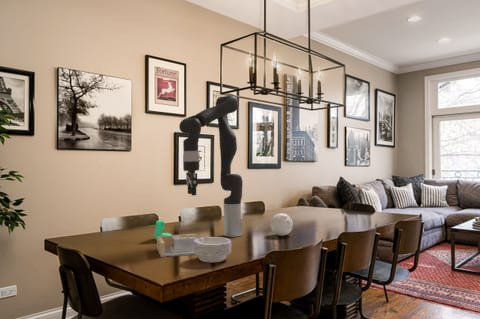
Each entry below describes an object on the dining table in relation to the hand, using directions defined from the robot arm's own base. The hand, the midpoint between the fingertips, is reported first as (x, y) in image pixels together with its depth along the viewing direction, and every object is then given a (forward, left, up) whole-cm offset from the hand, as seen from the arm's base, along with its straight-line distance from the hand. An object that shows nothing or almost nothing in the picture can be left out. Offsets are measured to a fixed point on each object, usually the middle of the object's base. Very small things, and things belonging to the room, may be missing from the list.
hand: (192, 194), depth 177 cm
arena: (+8, +10, -24) cm, 27 cm away
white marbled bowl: (-3, +29, -24) cm, 38 cm away
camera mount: (+11, -17, -25) cm, 32 cm away
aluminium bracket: (+5, +10, -23) cm, 26 cm away
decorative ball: (-50, -9, -24) cm, 57 cm away
